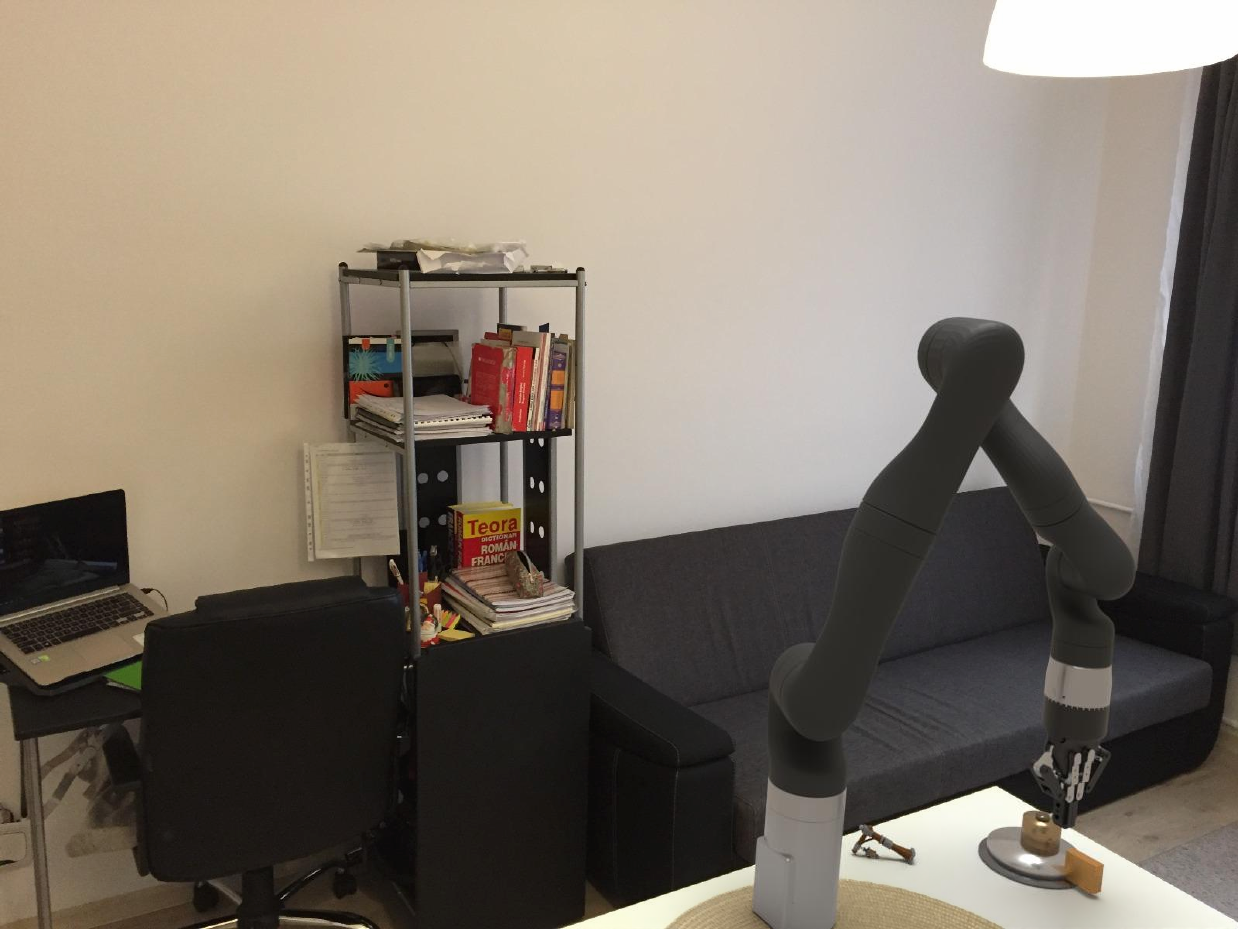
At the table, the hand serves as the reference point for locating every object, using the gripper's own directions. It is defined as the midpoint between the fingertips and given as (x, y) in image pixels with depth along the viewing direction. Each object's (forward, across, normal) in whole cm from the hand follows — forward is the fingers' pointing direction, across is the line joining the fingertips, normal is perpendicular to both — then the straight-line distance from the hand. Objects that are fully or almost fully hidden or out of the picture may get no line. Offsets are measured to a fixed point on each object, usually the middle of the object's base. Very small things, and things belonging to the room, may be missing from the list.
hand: (1063, 825), depth 132 cm
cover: (+8, +6, +8) cm, 13 cm away
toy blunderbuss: (+10, -14, +16) cm, 24 cm away
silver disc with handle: (+9, +5, +6) cm, 12 cm away
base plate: (+10, +5, +8) cm, 13 cm away
